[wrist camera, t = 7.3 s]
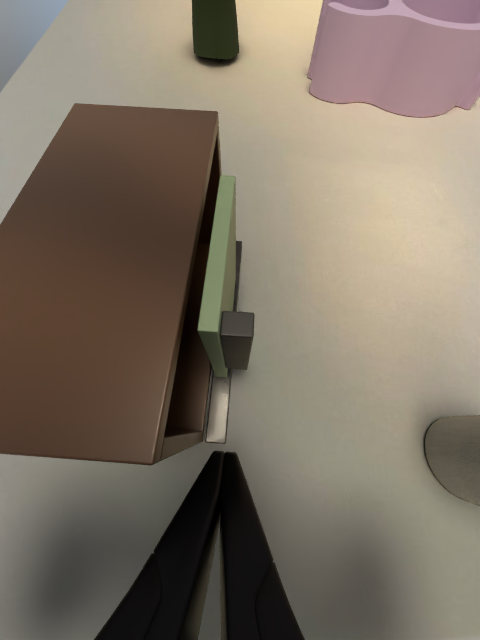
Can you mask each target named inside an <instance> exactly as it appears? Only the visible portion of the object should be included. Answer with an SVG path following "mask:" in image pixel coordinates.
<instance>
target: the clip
mask: <svg viewBox="0 0 480 640" xmlns="http://www.w3.org/2000/svg"><path fill="white" fill-rule="evenodd" d="M308 78H310V79H312V80H311V84H310V89H309V93H311V94H312V95H313V96H315V97H317V98H319V99H322V100H325V101H328V102H333V103H352V102H366V103H370V104H373V105H376V106H378V107H380V108H382V109H384V110H387V111H389V112H392V113H396V114H400V115H405V116H412V117H431V116H437V115H441V114H444V113H446V112H448V111H449V110H451V109H452V108H453V107H454V106H458V107H461V108H464V109H471V107H472V106H473V105H474V103H475V102H476V101H477V99H478V98H479V97H480V0H323V3H322V8H321V13H320V18H319V23H318V28H317V33H316V37H315V42H314V47H313V52H312V57H311V62H310V67H309V72H308Z"/></svg>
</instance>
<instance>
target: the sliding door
mask: <svg viewBox="0 0 480 640" xmlns="http://www.w3.org/2000/svg"><path fill="white" fill-rule="evenodd" d="M235 280H236V208H235V176H224V175H221V176H220V180H219V187H218V194H217V201H216V207H215V214H214V221H213V227H212V234H211V241H210V248H209V254H208V261H207V268H206V274H205V281H204V288H203V295H202V301H201V308H200V315H199V321H198V328H197V331H198V333H199V336H200V338H201V340H202V343H203V345H204V348H205V350H206V353H207V355H208V358H209V360H210V363H211V365H212V367H213V370H214V372H215V375H216V377H227V370H228V368H230V369H244V370H246V369H247V367H248V362H249V357H250V352H251V346H252V341H253V335H254V313H248V312H234V311H233V303H234V291H235Z"/></svg>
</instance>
